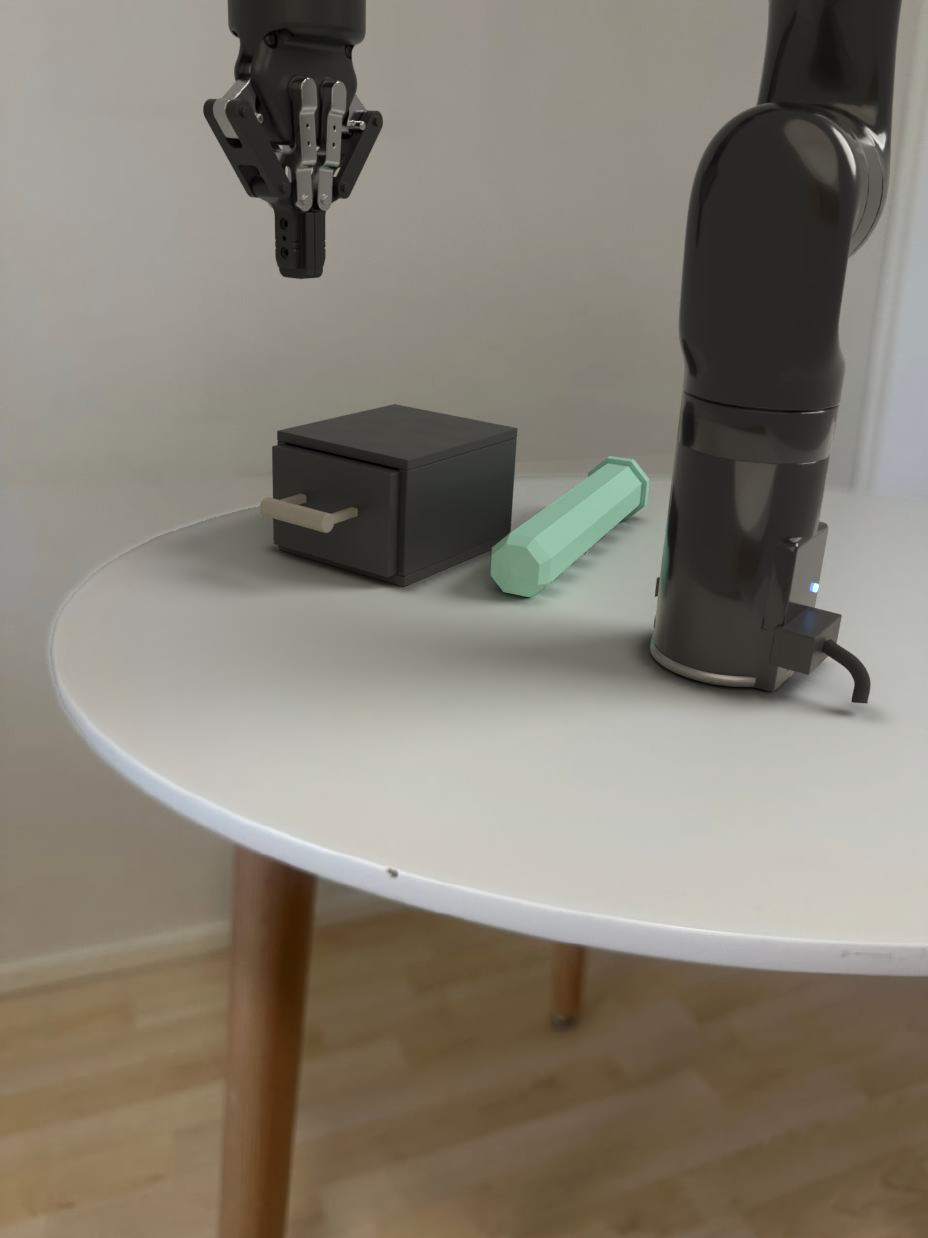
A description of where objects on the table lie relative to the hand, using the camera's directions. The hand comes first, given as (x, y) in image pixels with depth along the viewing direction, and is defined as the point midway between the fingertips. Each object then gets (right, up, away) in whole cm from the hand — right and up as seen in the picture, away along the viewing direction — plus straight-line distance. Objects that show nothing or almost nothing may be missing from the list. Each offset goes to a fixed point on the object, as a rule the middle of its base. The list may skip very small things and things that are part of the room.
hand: (300, 276), depth 69 cm
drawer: (+2, -15, +22) cm, 27 cm away
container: (+18, -15, +26) cm, 35 cm away
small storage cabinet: (+4, -14, +25) cm, 30 cm away
